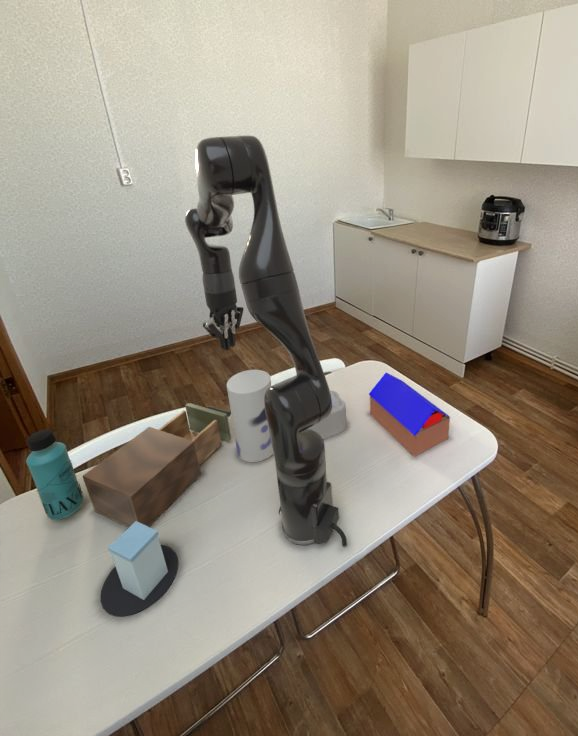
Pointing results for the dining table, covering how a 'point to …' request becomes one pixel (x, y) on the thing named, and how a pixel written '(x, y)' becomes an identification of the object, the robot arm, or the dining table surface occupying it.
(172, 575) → the mat
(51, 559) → the dining table surface
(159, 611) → the dining table surface
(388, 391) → the house
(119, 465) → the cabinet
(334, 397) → the lumpy-topped squat cylinder
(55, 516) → the beverage bottle
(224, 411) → the drawer
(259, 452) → the container
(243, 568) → the dining table surface
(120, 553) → the canister
